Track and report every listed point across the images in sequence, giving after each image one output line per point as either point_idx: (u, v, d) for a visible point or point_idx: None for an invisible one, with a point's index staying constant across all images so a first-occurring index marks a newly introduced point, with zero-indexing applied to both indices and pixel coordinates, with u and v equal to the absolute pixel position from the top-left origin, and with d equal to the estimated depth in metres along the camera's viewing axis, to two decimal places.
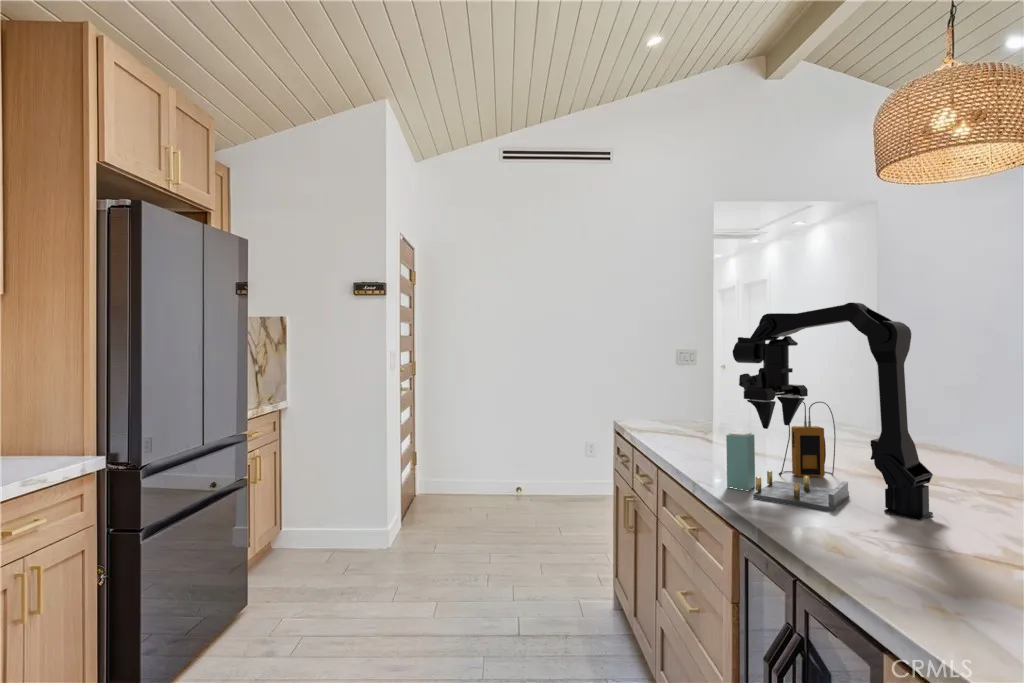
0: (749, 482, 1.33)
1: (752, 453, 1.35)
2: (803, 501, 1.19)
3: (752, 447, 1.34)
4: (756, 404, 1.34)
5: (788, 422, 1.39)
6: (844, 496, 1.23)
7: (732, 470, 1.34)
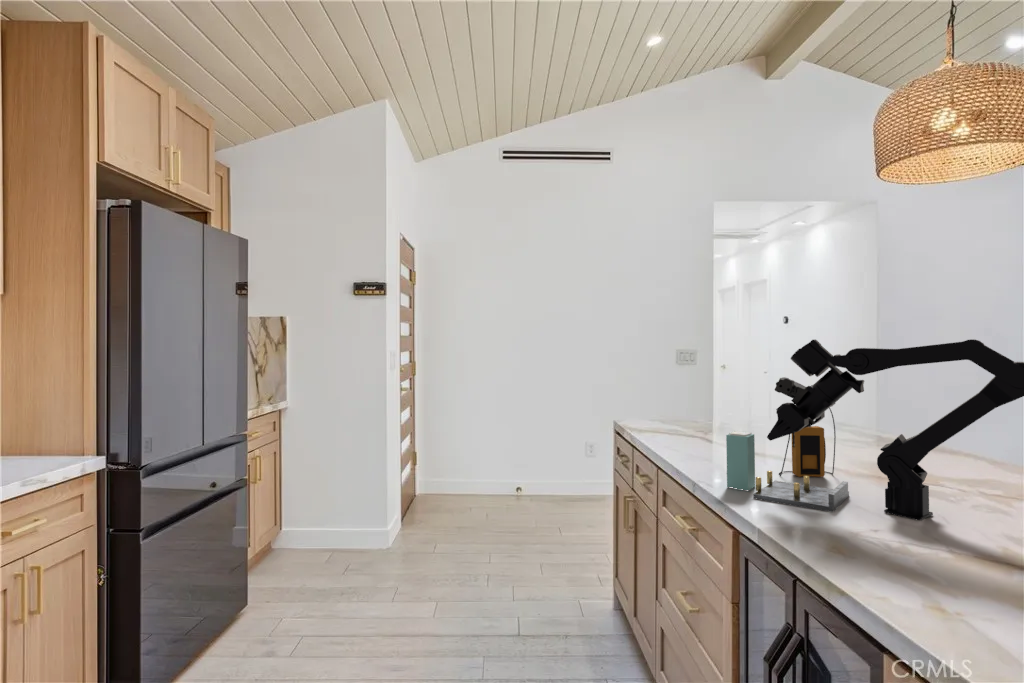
0: (749, 482, 1.33)
1: (752, 453, 1.35)
2: (803, 501, 1.19)
3: (752, 447, 1.34)
4: (781, 419, 1.23)
5: None
6: (844, 496, 1.23)
7: (732, 470, 1.34)
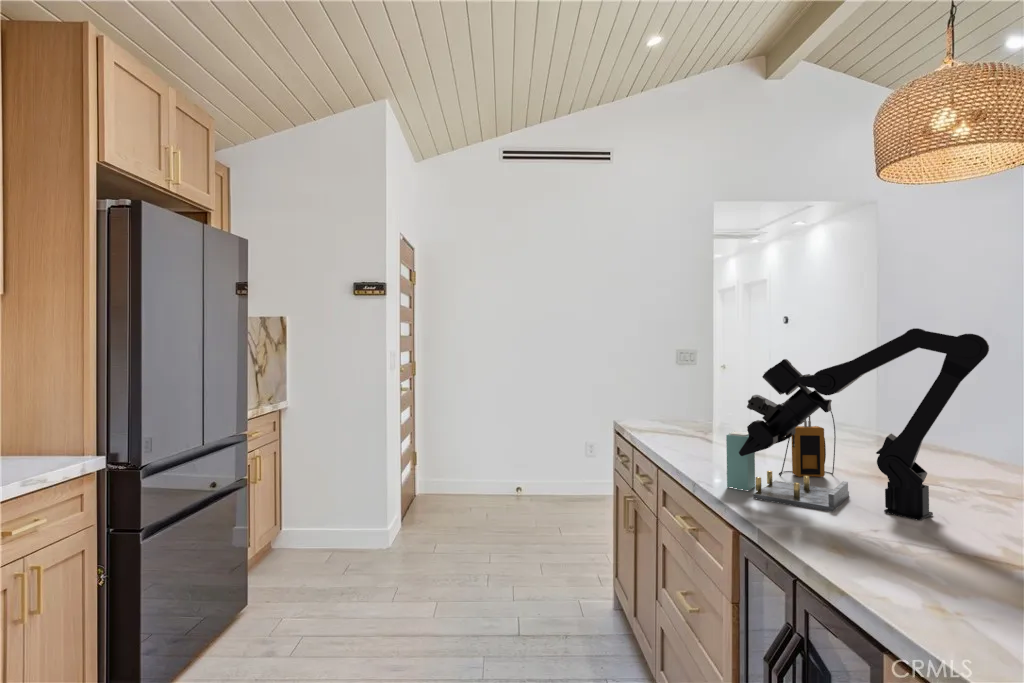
0: (749, 482, 1.33)
1: (752, 453, 1.35)
2: (803, 501, 1.19)
3: None
4: (752, 436, 1.27)
5: None
6: (844, 496, 1.23)
7: (732, 470, 1.34)
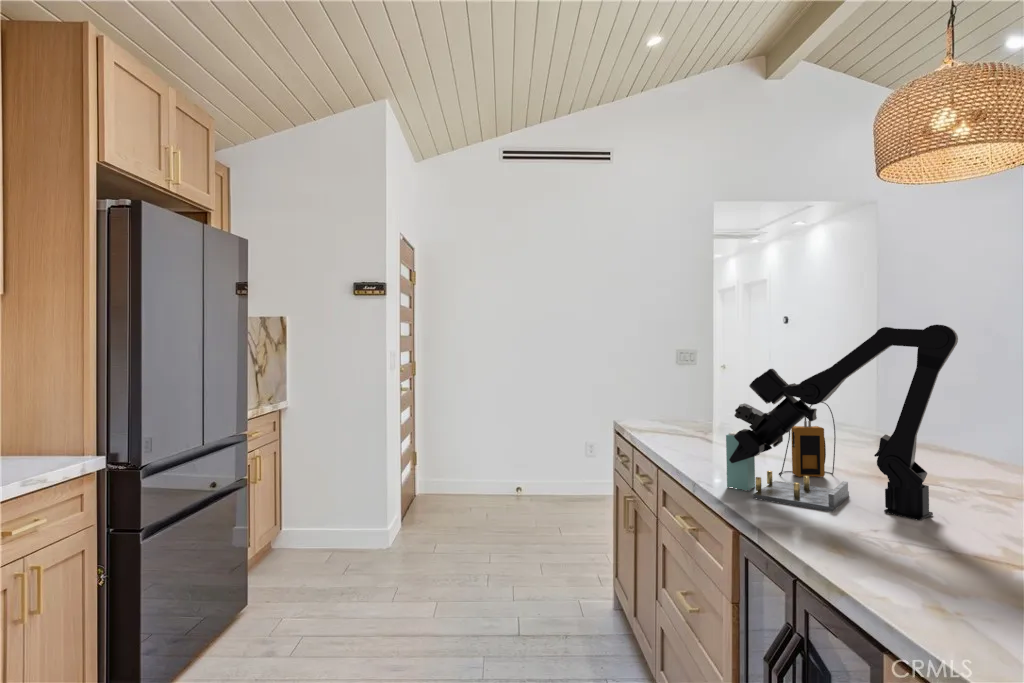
0: (749, 482, 1.33)
1: None
2: (803, 501, 1.19)
3: None
4: None
5: None
6: (844, 496, 1.23)
7: (732, 470, 1.34)
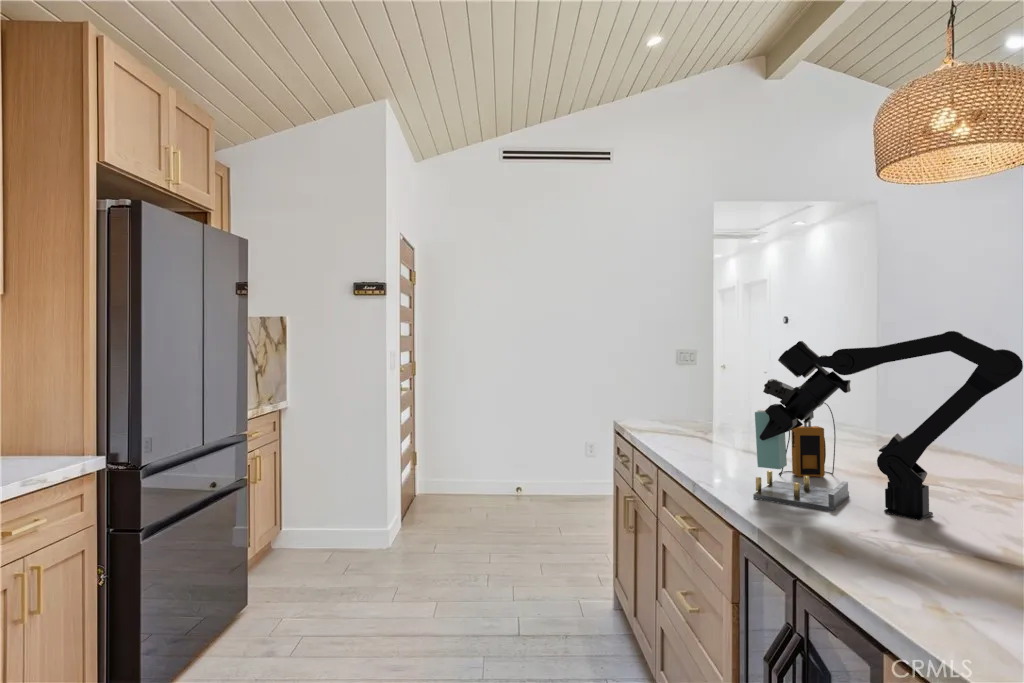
0: (781, 460, 1.28)
1: None
2: (803, 501, 1.19)
3: None
4: (772, 419, 1.26)
5: None
6: (844, 496, 1.23)
7: (762, 448, 1.30)
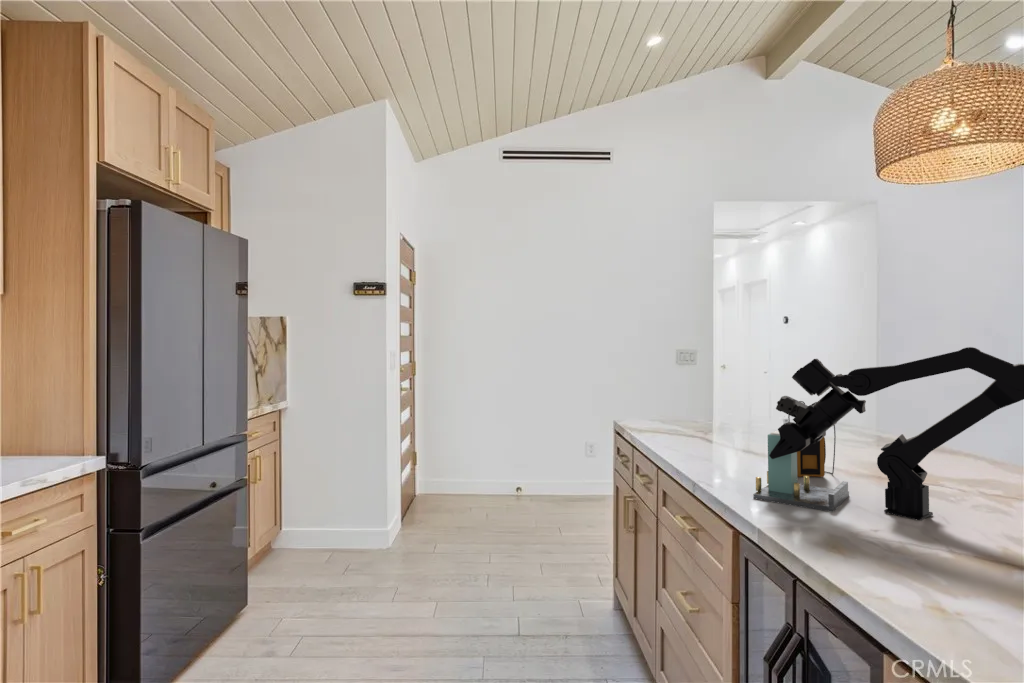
0: (792, 484, 1.26)
1: (795, 454, 1.28)
2: (803, 501, 1.19)
3: None
4: (783, 438, 1.23)
5: None
6: (844, 496, 1.23)
7: (774, 472, 1.28)
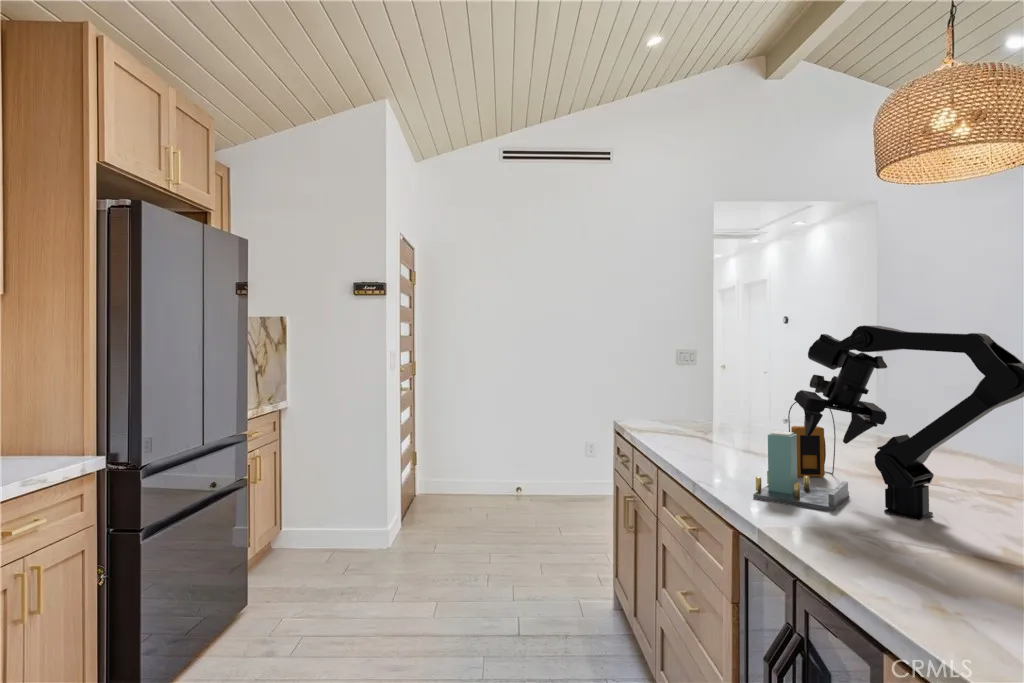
0: (792, 484, 1.26)
1: (795, 454, 1.28)
2: (803, 501, 1.19)
3: (795, 447, 1.28)
4: None
5: (846, 441, 1.27)
6: (844, 496, 1.23)
7: (774, 472, 1.28)
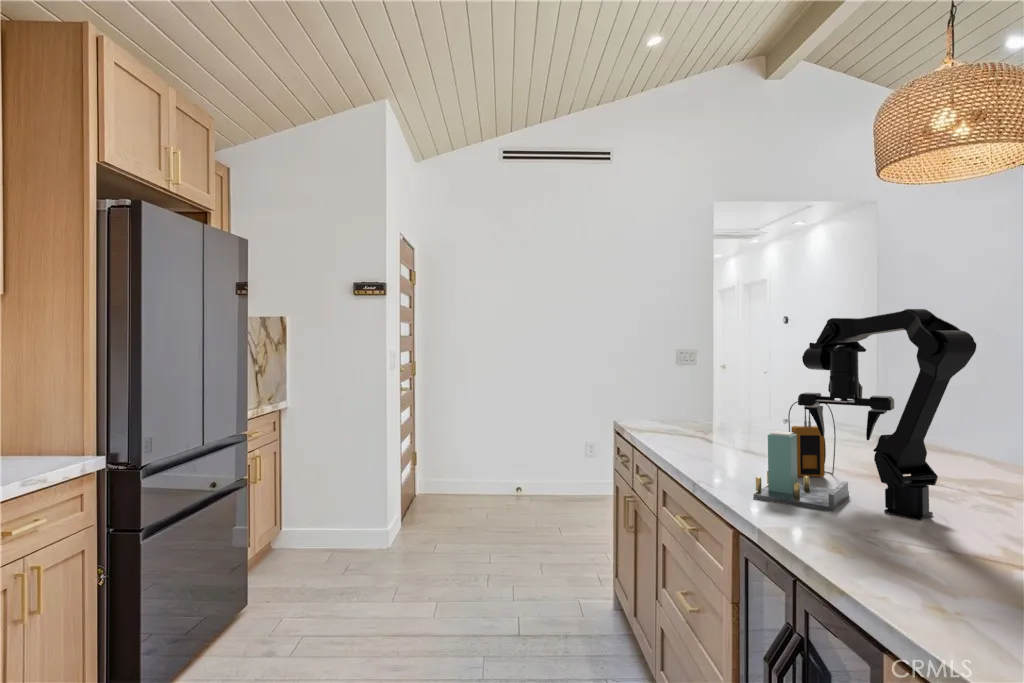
0: (792, 484, 1.26)
1: (795, 454, 1.28)
2: (803, 501, 1.19)
3: (795, 447, 1.28)
4: None
5: (866, 436, 1.26)
6: (844, 496, 1.23)
7: (774, 472, 1.28)
